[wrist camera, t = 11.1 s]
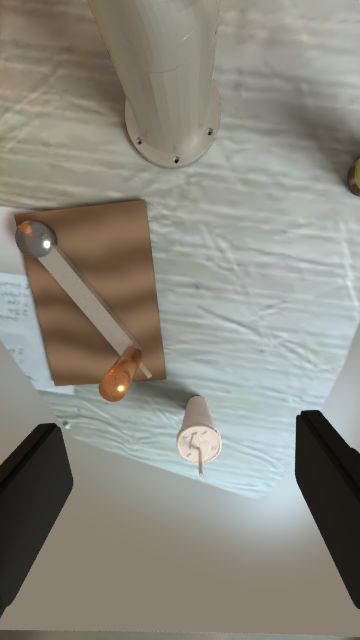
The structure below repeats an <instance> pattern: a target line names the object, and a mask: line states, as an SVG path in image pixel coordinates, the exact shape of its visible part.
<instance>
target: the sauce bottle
mask: <svg viewBox="0 0 360 640" xmlns="http://www.w3.org/2000/svg"><path fill="white" fill-rule="evenodd" d="M348 180H349V185H350V188H351V190H352V192H353V193H354V194H356V195H358V196H360V156H358V157H357V159H356V160H355V161H354V163H353V165H352V167H351V169H350V171H349V175H348Z"/></svg>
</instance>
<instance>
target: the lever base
mask: <svg viewBox="0 0 360 640" xmlns="http://www.w3.org/2000/svg"><path fill="white" fill-rule="evenodd" d="M14 216H15V220H16V225H17V228H18V226H19V225H20V224H21V223H23V222H25V221H28V220H32V221H37V222H41V223H44V224H47V225H48V226H50V227H51V228H52V229H53V230H54V232H55V233H56V236H57V239H58V246H59V247H60V249H61V250H62V251H63V252H64V254H65V255H66V256H67V257H68V258H69V260H70V261H71V262H72V263H73V264H74V266H75V267H76V268H77V269H78V271H79V272H80V273H81V274H82V275H83V277H84V278H85V279H86V280H87V281H88V283H89V284H90V285H91V286H92V288H93V289H94V290H95V291H96V292H97V294H98V295H99V296H100V297H101V298H102V300H103V301H104V302H105V303H106V304H107V306H108V307H109V308H110V309H111V311H112V312H113V313H114V314H115V315H116V317H117V318H118V319H119V320H120V321H121V323H122V324H123V325H124V326H125V328H126V329H127V330H128V331H129V332H130V334H131V335H132V336H133V337H134V338H135V340H136V341H137V342H138V343H139V345H140V346H141V347H142V349H141V350H140V351H141V352H142V355H143V359H142V362H141V364H140V366H139V368H138V370H137V372H136V374H135V376H134V378H133V379H132V381H147V380H163V379H166V370H165V361H164V353H163V344H162V336H161V327H160V318H159V310H158V301H157V293H156V284H155V276H154V267H153V259H152V250H151V242H150V233H149V225H148V216H147V207H146V201H145V200H137V201H128V202H120V203H111V204H103V205H94V206H85V207H77V208H68V209H60V210H51V211H42V212H34V213H25V214H16V215H14ZM23 254H24V253H23ZM24 258H25V262H26V266H27V271H28V275H29V279H30V283H31V287H32V292H33V296H34V300H35V304H36V308H37V313H38V317H39V321H40V325H41V329H42V334H43V338H44V342H45V346H46V350H47V355H48V359H49V363H50V367H51V371H52V376H53V380H54V384H55V386H66V385H82V384H98V383H100V382H101V381H102V379H103V378H104V377H105V376H106V374H107V373H108V372H109V370H110V369H111V368H112V366H113V365H114V364H115V362H116V361H117V360H118V358H119V357H120V355H119V353H118V352H117V351H116V350H115V349H114V348H113V346H112V345H111V344H110V343H109V342H108V341H107V339H106V338H105V337H104V336H103V335H102V333H101V332H100V331H99V330H98V329H97V328H96V326H95V325H94V324H93V323H92V322H91V321H90V319H89V318H88V317H87V316H86V315H85V313H84V312H83V311H82V310H81V309H80V308H79V306H78V305H77V304H76V303H75V302H74V301H73V299H72V298H71V297H70V296H69V295H68V293H67V292H66V291H65V290H64V289H63V288H62V286H61V285H60V284H59V283H58V282H57V281H56V279H55V278H54V277H53V276H52V275H51V273H50V272H49V271H48V270H47V269H46V268H45V266H44V265H43V264H42V263H41V262H40V261H39V259H38V258H33V257H29V256H27V255H25V254H24Z"/></svg>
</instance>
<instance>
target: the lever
mask: <svg viewBox="0 0 360 640" xmlns="http://www.w3.org/2000/svg"><path fill="white" fill-rule="evenodd" d="M15 239H16V243H17V245H18V247H19V249H20V250H21V251H22V252H23V253H24V254H25V255H27V256H29V257H33V258H38V259H39V261H40V262H41V263H42V264H43V265H44V266H45V268H46V269H47V270H48V271H49V272H50V273H51V275H52V276H53V277H54V278H55V279H56V281H57V282H58V283H59V284H60V285H61V286H62V288H63V289H64V290H65V291H66V292H67V293H68V295H69V296H70V297H71V298H72V299H73V301H74V302H75V303H76V304H77V305H78V306H79V308H80V309H81V310H82V311H83V312H84V313H85V315H86V316H87V317H88V318H89V319H90V321H91V322H92V323H93V324H94V325H95V326H96V328H97V329H98V330H99V331H100V332H101V333H102V335H103V336H104V337H105V338H106V339H107V341H108V342H109V343H110V344H111V345H112V346H113V348H114V349H115V350H116V351H117V352H118V353H119V355H120V357H119V358H118V360H117V361H116V362H115V364H114V365H113V366H112V368H111V369H110V370H109V372H108V373H107V374H106V376H105V377H104V378H103V379H102V381H101V382H100V384H99V393H100V395H101V396H102V397H103V398H104V399H106V400H108V401H111V402H116V401H119V400H121V399H122V398H123V397H124V395H125V393H126V391H127V389H128V387H129V385H130V383H131V381H132V379H133V378H134V376H135V374H136V372H137V370H138V368H139V366H140V364H141V362H142V359H143V355H142V352H141V351H140V350H141V349H142V347H141V346H140V345H139V343H138V342H137V341H136V340H135V338H134V337H133V336H132V335H131V334H130V332H129V331H128V330H127V329H126V328H125V326H124V325H123V324H122V323H121V321H120V320H119V319H118V318H117V317H116V315H115V314H114V313H113V312H112V311H111V309H110V308H109V307H108V306H107V304H106V303H105V302H104V301H103V300H102V298H101V297H100V296H99V295H98V294H97V292H96V291H95V290H94V289H93V288H92V286H91V285H90V284H89V283H88V281H87V280H86V279H85V278H84V277H83V275H82V274H81V273H80V272H79V271H78V269H77V268H76V267H75V266H74V264H73V263H72V262H71V261H70V260H69V258H68V257H67V256H66V255H65V254H64V252H63V251H62V250H61V249H60V247H59V246H58V239H57V236H56V233H55V232H54V230H53V229H52V228H51V227H50V226H48V225H47V224H44V223H41V222H37V221H32V220H28V221H25V222H23V223H21V224H20V225H19V226H18V228H17V230H16V234H15Z"/></svg>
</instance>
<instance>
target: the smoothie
mask: <svg viewBox="0 0 360 640" xmlns="http://www.w3.org/2000/svg"><path fill="white" fill-rule="evenodd" d="M221 446H222V443H221V435H220V433H219V431H218V430H217V429H216V427H215V424H214V421H213V418H212V415H211V411H210V408H209V405H208V402H207V400H206V399H205V398H204V397H201V396H194V397H192V398H190V399H189V401H188V403H187V407H186V411H185V415H184V419H183V423H182V427H181V429H180V430H179V432H178V435H177V449H178V452H179V453H180V455H181V456H182V457H183V458H184V459H186V460H188V461H190V462H193V463H199V476H200V477H203V476H204V475H203V463H207V462H210V461H212V460H213V459H215V458H216V457H217V456H218V454H219V453H220V451H221Z"/></svg>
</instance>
